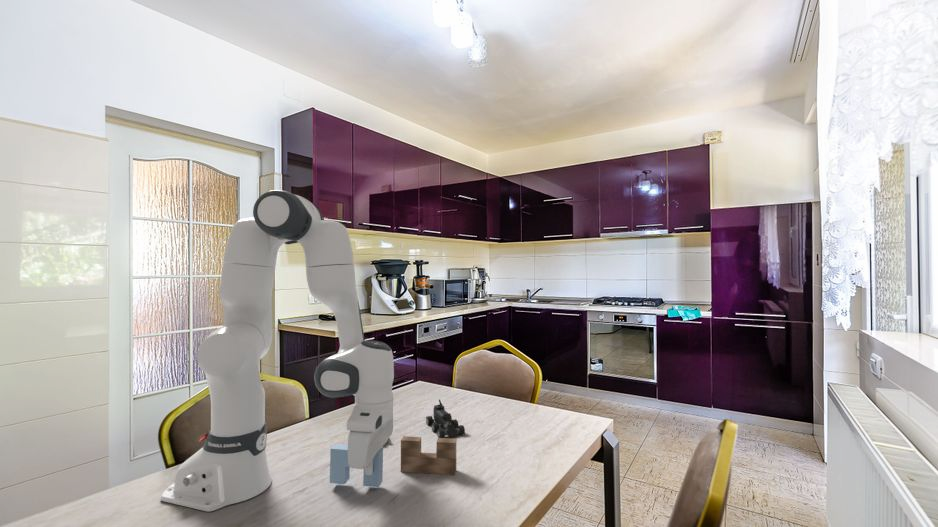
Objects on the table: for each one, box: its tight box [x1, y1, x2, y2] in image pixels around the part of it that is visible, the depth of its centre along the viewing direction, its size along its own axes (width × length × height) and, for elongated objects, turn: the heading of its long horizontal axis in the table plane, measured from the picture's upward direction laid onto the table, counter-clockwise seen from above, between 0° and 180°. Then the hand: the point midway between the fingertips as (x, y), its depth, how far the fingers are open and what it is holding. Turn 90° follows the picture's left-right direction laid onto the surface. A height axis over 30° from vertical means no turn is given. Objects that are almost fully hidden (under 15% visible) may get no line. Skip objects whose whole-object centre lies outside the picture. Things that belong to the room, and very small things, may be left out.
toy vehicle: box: [425, 399, 466, 439], centre depth 130 cm, size 8×15×9 cm, turn 23°
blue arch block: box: [329, 443, 384, 488], centre depth 95 cm, size 12×2×8 cm, turn 83°
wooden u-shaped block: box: [400, 435, 457, 476], centre depth 103 cm, size 14×2×8 cm, turn 84°
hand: (372, 469), depth 95 cm, fingers closed on blue arch block, 2 cm apart
